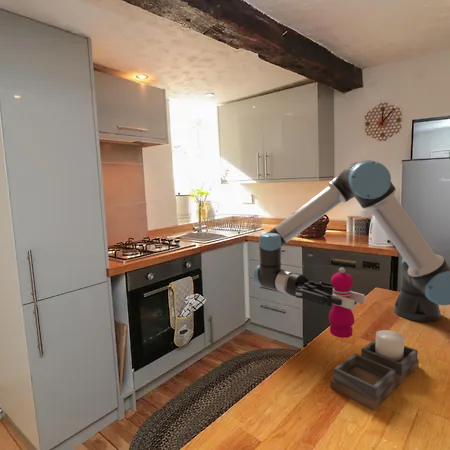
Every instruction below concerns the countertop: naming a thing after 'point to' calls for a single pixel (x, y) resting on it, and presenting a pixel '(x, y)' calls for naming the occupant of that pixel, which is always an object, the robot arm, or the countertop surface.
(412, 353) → the two-compartment tray
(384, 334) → the white glossy dome
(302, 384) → the countertop surface
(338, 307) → the pepper mill
